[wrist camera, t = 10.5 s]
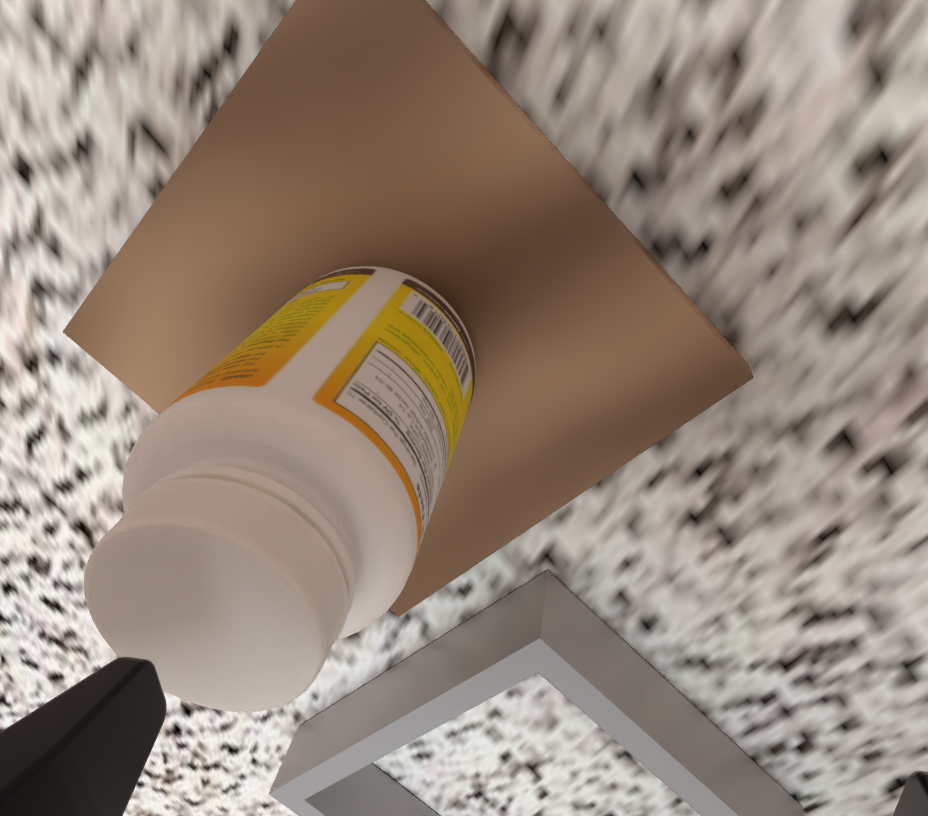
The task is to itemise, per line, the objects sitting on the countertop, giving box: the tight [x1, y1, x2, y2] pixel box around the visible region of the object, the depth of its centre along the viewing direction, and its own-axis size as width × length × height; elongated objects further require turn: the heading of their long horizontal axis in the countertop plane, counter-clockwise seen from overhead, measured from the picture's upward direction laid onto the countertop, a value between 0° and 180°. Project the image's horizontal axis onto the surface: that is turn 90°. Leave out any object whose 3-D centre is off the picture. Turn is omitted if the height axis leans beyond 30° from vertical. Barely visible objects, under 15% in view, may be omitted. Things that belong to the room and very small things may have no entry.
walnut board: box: [63, 0, 754, 616], centre depth 20 cm, size 14×14×1 cm
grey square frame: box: [269, 570, 804, 816], centre depth 27 cm, size 14×14×3 cm
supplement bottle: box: [84, 266, 476, 712], centre depth 15 cm, size 6×6×10 cm
